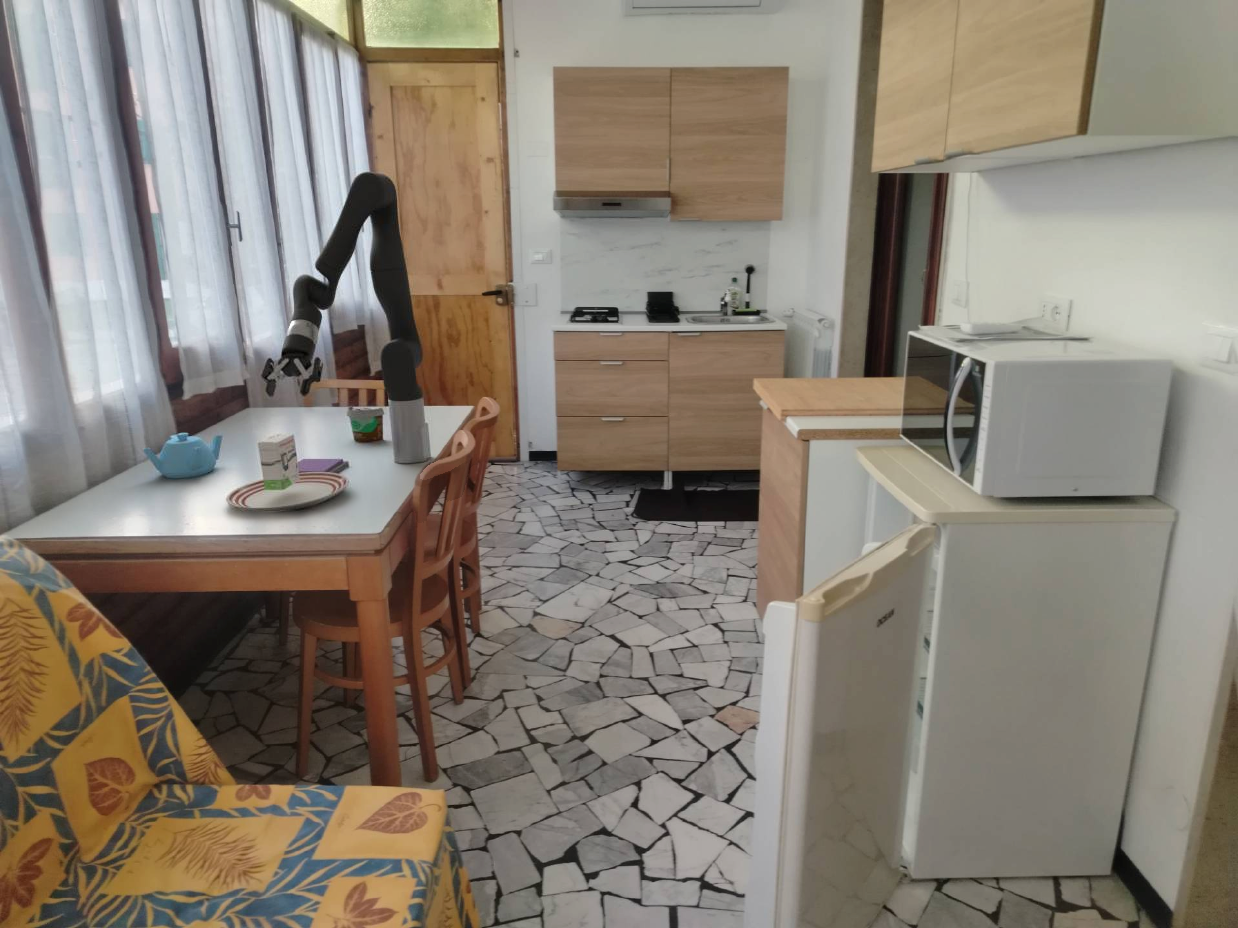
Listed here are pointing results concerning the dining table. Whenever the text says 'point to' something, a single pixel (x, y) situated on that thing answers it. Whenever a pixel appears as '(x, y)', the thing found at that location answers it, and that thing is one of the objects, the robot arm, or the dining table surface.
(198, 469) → the teapot
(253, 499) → the dinner plate
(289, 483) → the ink box
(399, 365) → the robot arm
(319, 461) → the ink pad
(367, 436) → the food container
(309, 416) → the dining table surface
